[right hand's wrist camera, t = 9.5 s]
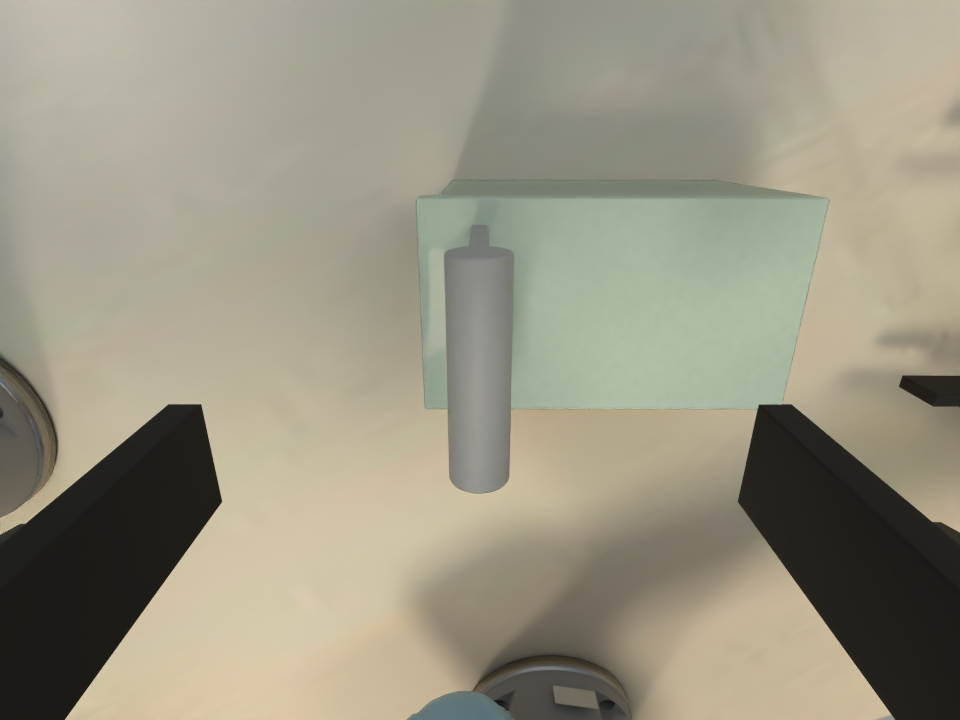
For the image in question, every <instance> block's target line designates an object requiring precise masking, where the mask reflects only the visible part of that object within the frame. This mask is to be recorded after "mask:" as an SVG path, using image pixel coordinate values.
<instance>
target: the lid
mask: <svg viewBox="0 0 960 720" xmlns="http://www.w3.org/2000/svg"><path fill="white" fill-rule="evenodd" d="M828 204H829V198H825V197H819V196H419V197H418V198H416V216H417V239H418V263H419V286H420V309H421V333H422V356H423V380H424V403H425V409H448V437H449V477H450V480H451V482H452V483H453V484H454V485H455V486H456V487H457V488H459V489H461V490H463V491H466V492H470V493H489V492H493V491H496V490H498V489H500V488H501V487H503V486H504V485H505V484H506V483H507V481H508V479H509V462H510V420H511V409H758V406H759V404H782V402H783V398H784V393H785V389H786V385H787V380H788V376H789V372H790V368H791V363H792V359H793V355H794V350H795V346H796V342H797V338H798V333H799V329H800V325H801V320H802V316H803V312H804V308H805V303H806V299H807V295H808V290H809V286H810V282H811V277H812V273H813V269H814V265H815V260H816V256H817V252H818V247H819V243H820V239H821V235H822V230H823V226H824V222H825V217H826V213H827V209H828Z"/></svg>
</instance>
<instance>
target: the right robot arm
mask: <svg viewBox="0 0 960 720" xmlns="http://www.w3.org/2000/svg"><path fill="white" fill-rule="evenodd" d="M55 457H56V442H55V435H54V431H53V427H52V424H51V422H50V419H49V417H48V414H47V412H46V410H45V408H44V406H43V405H42V403H41V401H40V400H39V398H38V397H37V395H36V394H35V392H34V391H33V390H32V389H31V387H30V386H29V385H28V384H27V382H26V381H25V380H24V379H23V378H22V377H21V376H20V375H19V374H18V373H17V372H16V371H15V370H14V369H12V368H11V367H10V366H9V365H8V364H7V363H5V362H4V361H3V360H1V359H0V518H1V517H3V516H5V515H7V514H9V513H11V512H12V511H14V510H16V509H17V508H18V507H20V506H21V505H22V504H24V503H25V502H26V501H27V500H29V499H30V498H31V497H32V496H34V495H35V494H36V493H37V492H38V491H39V490H40V489H41V488H42V487H43V486H44V485H45V483H46V482H47V480H48V479H49V477H50V475H51V473H52V470H53V467H54V463H55ZM221 503H222V499H221V494H220V490H219V485H218V480H217V476H216V471H215V466H214V462H213V457H212V453H211V448H210V443H209V439H208V434H207V429H206V425H205V420H204V415H203V411H202V406H201V404H169V405H167V406H166V407H165V408H164V409H163V410H161V411H160V412H159V413H158V414H157V415H155V416H154V417H153V418H152V419H151V420H149V421H148V422H147V423H146V424H145V425H143V426H142V427H141V428H140V429H139V430H137V431H136V432H135V433H134V434H133V435H131V436H130V437H129V438H128V439H127V440H125V441H124V442H123V443H122V444H121V445H119V446H118V447H117V448H116V449H115V450H113V451H112V452H111V453H110V454H109V455H108V456H106V457H105V458H104V459H103V460H102V461H100V462H99V463H98V464H97V465H96V466H94V467H93V468H92V469H91V470H90V471H88V472H87V473H86V474H85V475H84V476H82V477H81V478H80V479H79V480H78V481H76V482H75V483H74V484H73V485H72V486H70V487H69V488H68V489H67V490H66V491H64V492H63V493H62V494H61V495H60V496H58V497H57V498H56V499H55V500H54V501H52V502H51V503H50V504H49V505H48V506H46V507H45V508H44V509H43V510H42V511H40V512H39V513H38V514H37V515H36V516H34V517H33V518H32V519H31V520H30V521H28V522H27V523H26V524H19V525H18V526H16V527H14V528H12V529H10V530H8V531H7V532H5V533H3V534H1V535H0V720H65V719H66V717H67V716H68V714H69V713H70V712H71V710H72V709H73V707H74V706H75V705H76V703H77V702H78V701H79V699H80V698H81V696H82V695H83V694H84V692H85V691H86V689H87V688H88V687H89V685H90V684H91V683H92V681H93V680H94V678H95V677H96V676H97V674H98V673H99V671H100V670H101V669H102V667H103V666H104V665H105V663H106V662H107V660H108V659H109V658H110V656H111V655H112V653H113V652H114V651H115V649H116V648H117V647H118V645H119V644H120V642H121V641H122V640H123V638H124V637H125V635H126V634H127V633H128V631H129V630H130V629H131V627H132V626H133V624H134V623H135V622H136V620H137V619H138V617H139V616H140V615H141V613H142V612H143V611H144V609H145V608H146V606H147V605H148V604H149V602H150V601H151V599H152V598H153V597H154V595H155V594H156V593H157V591H158V590H159V588H160V587H161V586H162V584H163V583H164V581H165V580H166V579H167V577H168V576H169V575H170V573H171V572H172V570H173V569H174V568H175V566H176V565H177V563H178V562H179V561H180V559H181V558H182V557H183V555H184V554H185V552H186V551H187V550H188V548H189V547H190V545H191V544H192V543H193V541H194V540H195V539H196V537H197V536H198V534H199V533H200V532H201V530H202V529H203V527H204V526H205V525H206V523H207V522H208V521H209V519H210V518H211V516H212V515H213V514H214V512H215V511H216V509H217V508H218V507H219V505H220V504H221ZM738 503H739V504H740V505H741V507H742V508H743V509H744V511H745V512H746V514H747V515H748V516H749V518H750V519H751V521H752V522H753V523H754V525H755V526H756V527H757V529H758V530H759V532H760V533H761V534H762V536H763V537H764V539H765V540H766V541H767V543H768V544H769V545H770V547H771V548H772V550H773V551H774V552H775V554H776V555H777V557H778V558H779V559H780V561H781V562H782V563H783V565H784V566H785V568H786V569H787V570H788V572H789V573H790V575H791V576H792V577H793V579H794V580H795V581H796V583H797V584H798V586H799V587H800V588H801V590H802V591H803V593H804V594H805V595H806V597H807V598H808V599H809V601H810V602H811V604H812V605H813V606H814V608H815V609H816V611H817V612H818V613H819V615H820V616H821V617H822V619H823V620H824V622H825V623H826V624H827V626H828V627H829V629H830V630H831V631H832V633H833V634H834V635H835V637H836V638H837V640H838V641H839V642H840V644H841V645H842V647H843V648H844V649H845V651H846V652H847V653H848V655H849V656H850V658H851V659H852V660H853V662H854V663H855V665H856V666H857V667H858V669H859V670H860V671H861V673H862V674H863V676H864V677H865V678H866V680H867V681H868V683H869V684H870V685H871V687H872V688H873V689H874V691H875V692H876V694H877V695H878V696H879V698H880V699H881V701H882V702H883V703H884V705H885V706H886V707H887V709H888V710H889V712H890V713H891V714H892V716H893V717H894V718H895V720H960V533H959V532H958V531H956V530H954V529H952V528H950V527H948V526H947V525H945V524H943V523H941V522H932V521H930V520H929V519H928V518H927V517H926V516H924V515H923V514H922V513H921V512H920V511H918V510H917V509H916V508H915V507H914V506H912V505H911V504H910V503H909V502H908V501H906V500H905V499H904V498H903V497H902V496H900V495H899V494H898V493H897V492H896V491H894V490H893V489H892V488H891V487H890V486H888V485H887V484H886V483H885V482H884V481H882V480H881V479H880V478H879V477H878V476H876V475H875V474H874V473H873V472H872V471H870V470H869V469H868V468H867V467H866V466H864V465H863V464H862V463H861V462H860V461H858V460H857V459H856V458H855V457H854V456H852V455H851V454H850V453H849V452H848V451H847V450H845V449H844V448H843V447H842V446H841V445H839V444H838V443H837V442H836V441H835V440H833V439H832V438H831V437H830V436H829V435H827V434H826V433H825V432H824V431H823V430H821V429H820V428H819V427H818V426H817V425H815V424H814V423H813V422H812V421H811V420H809V419H808V418H807V417H806V416H805V415H803V414H802V413H801V412H800V411H799V410H797V409H796V408H795V407H794V406H793V405H791V404H759V406H758V411H757V415H756V420H755V425H754V429H753V434H752V439H751V443H750V448H749V453H748V457H747V462H746V466H745V471H744V476H743V480H742V485H741V490H740V494H739V499H738Z"/></svg>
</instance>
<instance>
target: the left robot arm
mask: <svg viewBox="0 0 960 720" xmlns="http://www.w3.org/2000/svg"><path fill="white" fill-rule="evenodd" d="M899 387H900V388H902V389H904V390H906V391H907V392H909V393H911V394H913V395H914V396H916V397H918V398H920V399H921V400H923V401H925V402H927V403H928V404H930V405H932V406H958V407H960V376H902V379H901V382H900V385H899ZM407 720H632V716H631V711H630V707H629V704H628V700H627V697H626V694H625V692H624V690H623V688H622V686H621V685H620V684H619V682H618V681H617V680H616V679H615V678H614V677H613V676H612V675H611V674H609V673H608V672H607V671H605V670H604V669H602V668H600V667H598V666H596V665H594V664H592V663H589V662H586V661H584V660H580V659H576V658H571V657H563V656H540V657H532V658H527V659H523V660H519V661H516V662H513V663H510V664H508V665H505V666H503V667H501V668H499V669H497V670H496V671H494V672H493V673H491V674H490V675H488V676H487V677H486V678H485V679H484V680H483V681H482V682H481V683H480V684H479V685H478V686H477V687H476V689H475V690H474V692H473V691H459V692H453V693H449V694H446V695H443V696H441V697H439V698H437V699H435V700H433V701H431V702H429V703H428V704H427V705H426V706H425V707H424V708H423V709H422V710H421V711H419V712H418V713H416V714H412V715H411V716H410V717H409V718H408V719H407Z"/></svg>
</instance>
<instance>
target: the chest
mask: <svg viewBox="0 0 960 720" xmlns="http://www.w3.org/2000/svg"><path fill="white" fill-rule="evenodd" d="M441 196H812V195H806V194H800V193H793V192H787V191H780V190H774V189H767V188H761V187H754V186H748V185H741V184H735V183H728V182H722V181H715V180H452V182H451V183H450V184H449V186H448V187H447V188H446V189H445V191H444V192H443V193H442V194H441Z"/></svg>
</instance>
